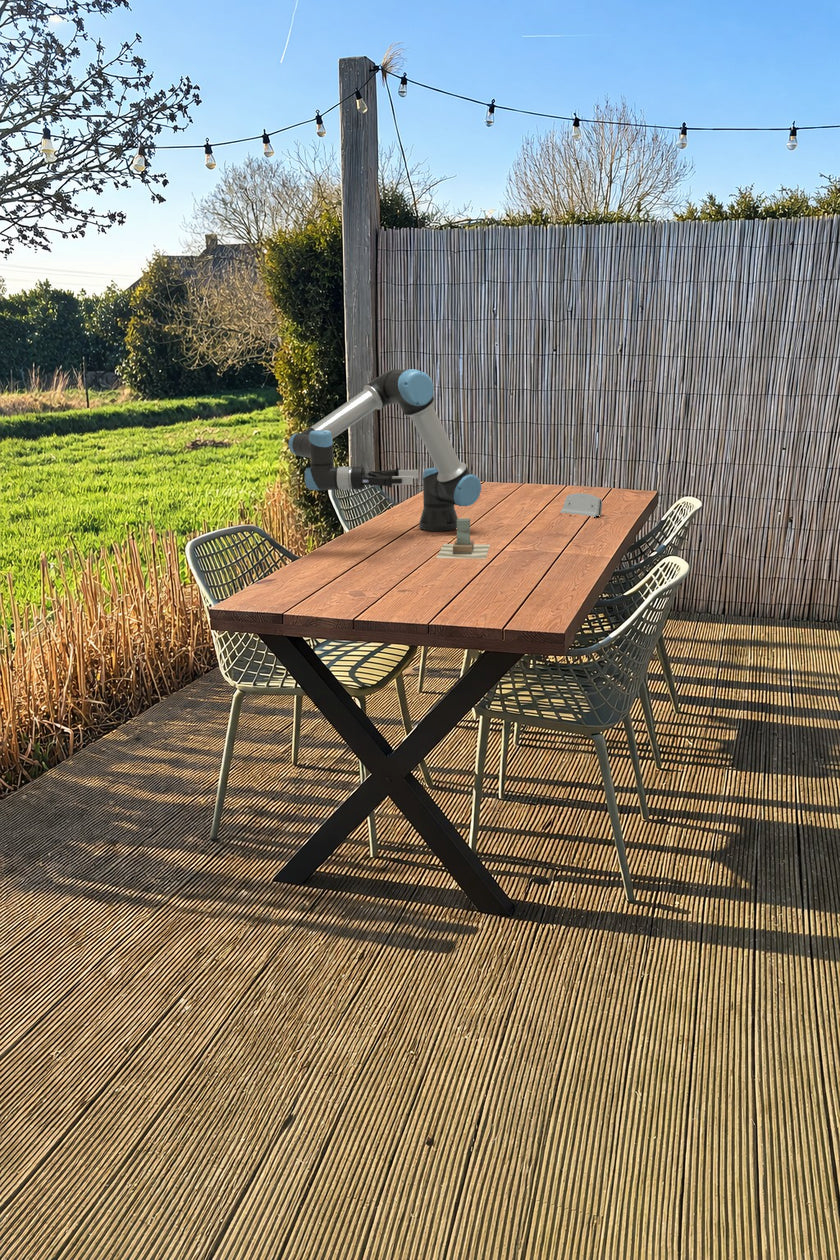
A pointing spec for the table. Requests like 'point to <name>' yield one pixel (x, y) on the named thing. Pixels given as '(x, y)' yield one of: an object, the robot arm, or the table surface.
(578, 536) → the table surface
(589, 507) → the hinge
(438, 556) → the board
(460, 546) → the block
